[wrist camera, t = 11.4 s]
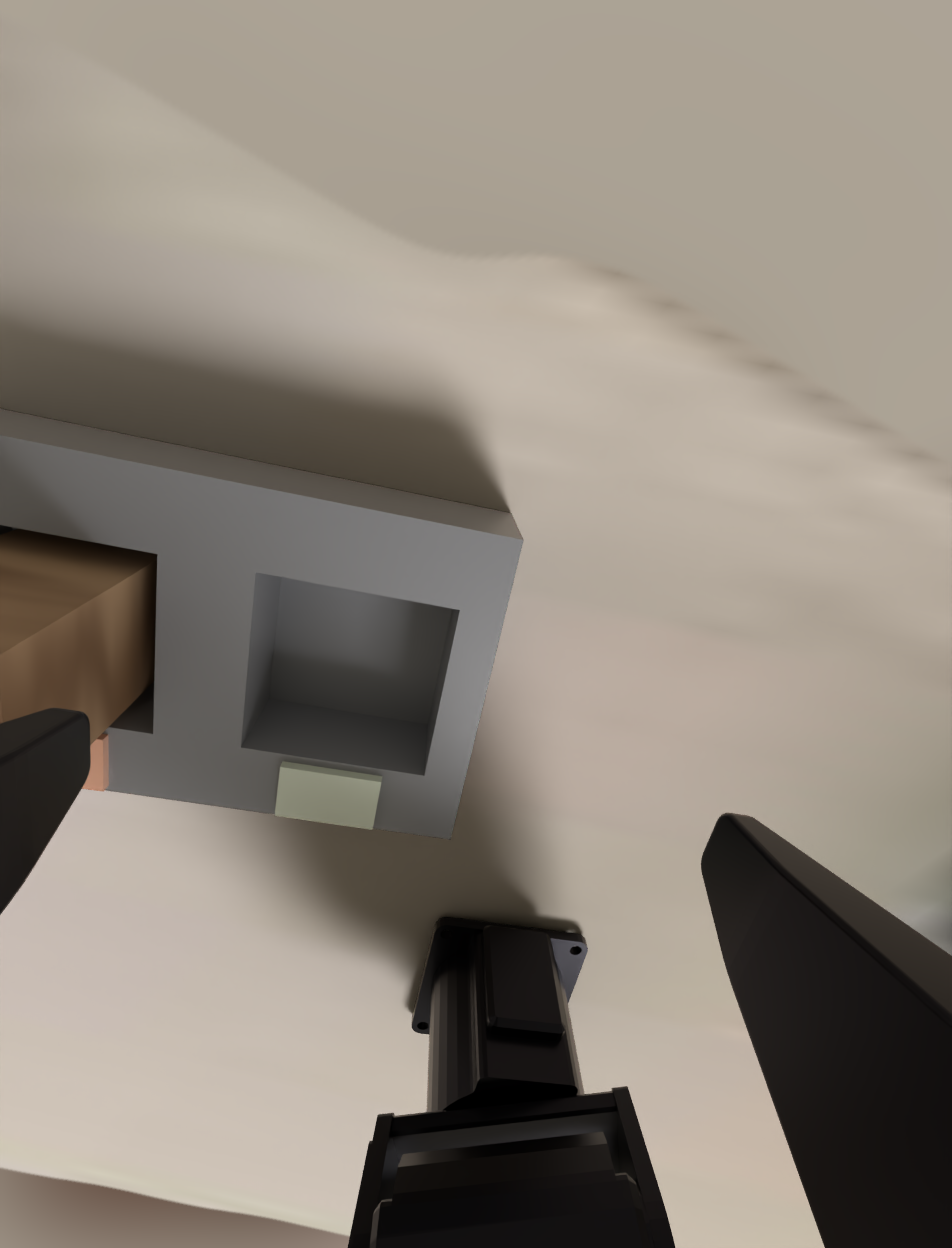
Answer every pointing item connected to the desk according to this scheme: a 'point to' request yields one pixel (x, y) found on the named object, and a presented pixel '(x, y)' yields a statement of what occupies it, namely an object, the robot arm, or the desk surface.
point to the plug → (74, 626)
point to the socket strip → (282, 625)
